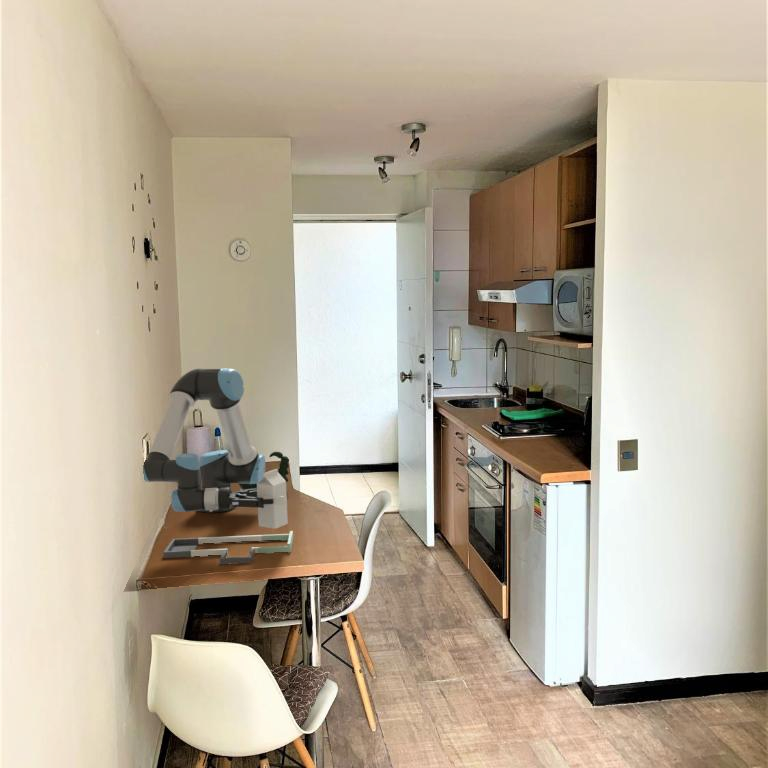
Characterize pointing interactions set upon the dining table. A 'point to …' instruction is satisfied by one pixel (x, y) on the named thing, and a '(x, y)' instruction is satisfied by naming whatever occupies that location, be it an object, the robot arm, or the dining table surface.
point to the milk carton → (272, 487)
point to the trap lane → (188, 546)
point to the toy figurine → (281, 470)
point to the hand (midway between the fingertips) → (284, 496)
